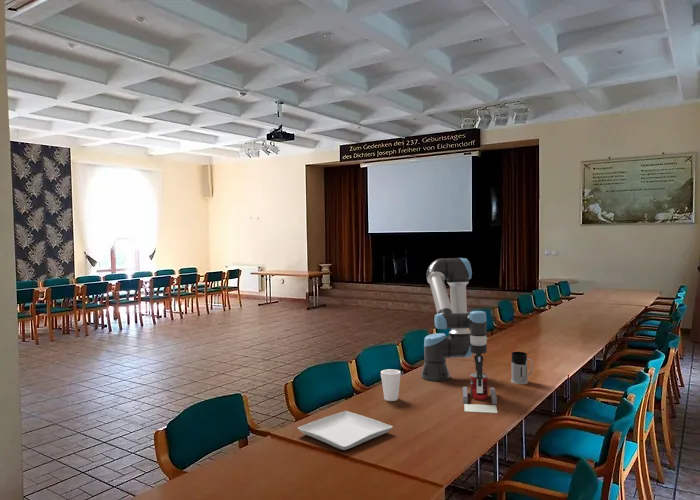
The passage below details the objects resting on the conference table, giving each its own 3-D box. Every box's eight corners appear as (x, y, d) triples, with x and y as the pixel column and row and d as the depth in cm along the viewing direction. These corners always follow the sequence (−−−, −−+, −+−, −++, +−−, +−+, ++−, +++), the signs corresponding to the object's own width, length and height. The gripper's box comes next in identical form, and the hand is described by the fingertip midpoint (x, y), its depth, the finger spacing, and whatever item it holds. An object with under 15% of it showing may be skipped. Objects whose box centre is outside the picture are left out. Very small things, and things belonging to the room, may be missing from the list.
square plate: (296, 436, 206) (296, 426, 205) (346, 418, 225) (346, 409, 225) (344, 456, 186) (344, 445, 186) (394, 434, 205) (394, 424, 205)
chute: (463, 411, 229) (463, 404, 229) (462, 392, 257) (462, 386, 257) (498, 413, 226) (498, 406, 226) (494, 393, 254) (494, 387, 254)
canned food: (475, 394, 254) (474, 371, 254) (490, 397, 249) (490, 374, 248) (467, 398, 248) (467, 375, 248) (483, 401, 243) (483, 377, 243)
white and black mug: (520, 378, 279) (520, 350, 279) (539, 385, 266) (539, 356, 266) (507, 380, 276) (506, 352, 276) (525, 387, 263) (525, 358, 262)
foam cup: (384, 402, 243) (384, 375, 243) (378, 397, 252) (378, 370, 252) (404, 400, 246) (403, 373, 245) (397, 395, 255) (396, 368, 254)
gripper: (488, 349, 235) (488, 396, 235) (485, 339, 259) (486, 382, 259) (470, 349, 236) (471, 396, 237) (469, 339, 261) (470, 381, 261)
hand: (479, 388), depth 248 cm, fingers open, 13 cm apart
